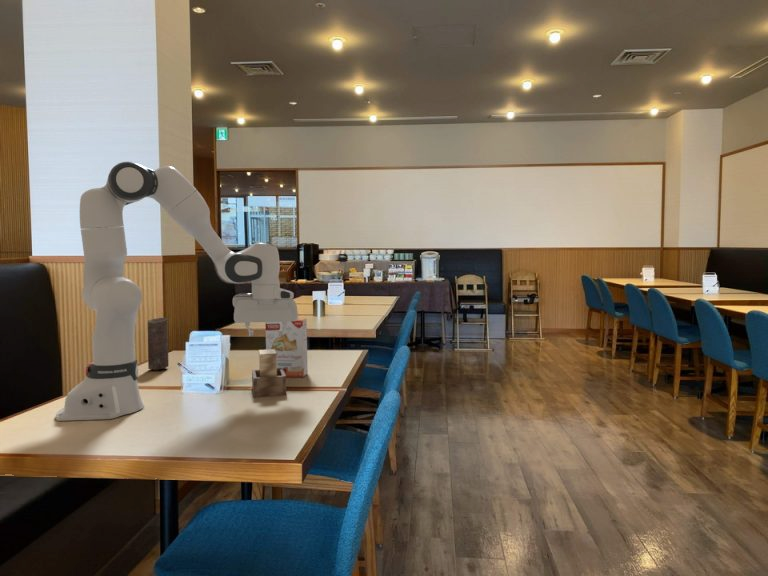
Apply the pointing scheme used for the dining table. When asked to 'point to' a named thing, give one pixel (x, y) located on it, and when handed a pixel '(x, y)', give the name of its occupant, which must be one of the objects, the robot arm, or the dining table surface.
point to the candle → (157, 344)
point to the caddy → (269, 384)
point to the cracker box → (289, 346)
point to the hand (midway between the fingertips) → (266, 335)
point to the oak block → (267, 363)
